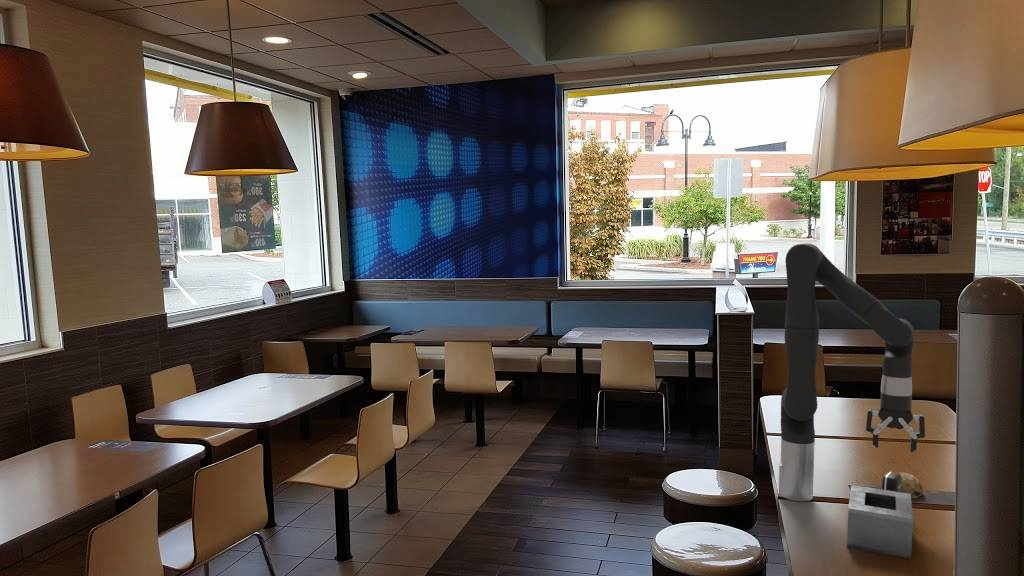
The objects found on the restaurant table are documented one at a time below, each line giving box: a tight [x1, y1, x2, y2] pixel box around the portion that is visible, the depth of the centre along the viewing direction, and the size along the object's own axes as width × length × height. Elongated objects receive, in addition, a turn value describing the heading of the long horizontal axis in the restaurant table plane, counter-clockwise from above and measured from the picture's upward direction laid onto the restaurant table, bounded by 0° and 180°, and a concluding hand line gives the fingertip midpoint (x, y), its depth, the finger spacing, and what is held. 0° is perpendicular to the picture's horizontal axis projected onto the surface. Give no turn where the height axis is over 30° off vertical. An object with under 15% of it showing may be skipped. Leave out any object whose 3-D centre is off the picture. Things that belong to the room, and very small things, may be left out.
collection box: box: [846, 484, 914, 560], centre depth 179 cm, size 14×18×10 cm
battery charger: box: [881, 471, 902, 492], centre depth 195 cm, size 7×4×11 cm, turn 138°
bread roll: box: [896, 471, 924, 499], centre depth 211 cm, size 10×10×8 cm
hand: (894, 449), depth 194 cm, fingers open, 8 cm apart
